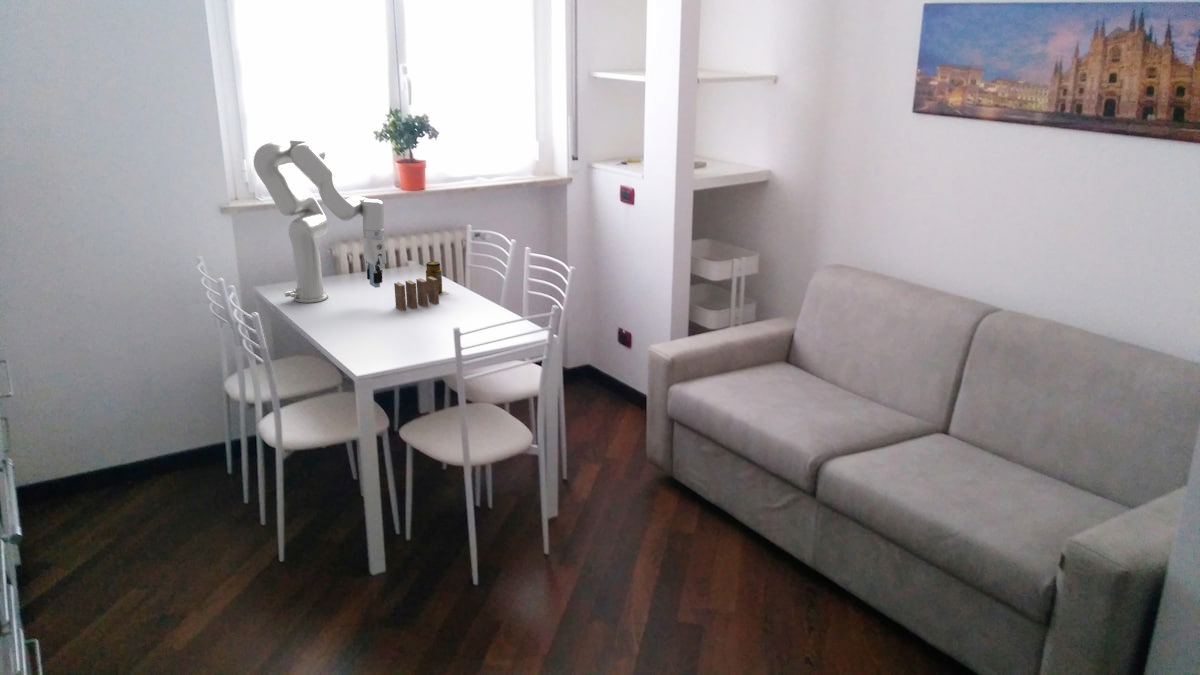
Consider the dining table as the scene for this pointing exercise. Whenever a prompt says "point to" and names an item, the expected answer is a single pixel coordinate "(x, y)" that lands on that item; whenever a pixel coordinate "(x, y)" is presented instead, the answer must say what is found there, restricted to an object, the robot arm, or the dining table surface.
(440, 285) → the condiment
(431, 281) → the domino
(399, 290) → the domino
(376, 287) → the domino
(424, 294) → the domino
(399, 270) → the dining table surface
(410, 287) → the domino
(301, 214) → the robot arm
